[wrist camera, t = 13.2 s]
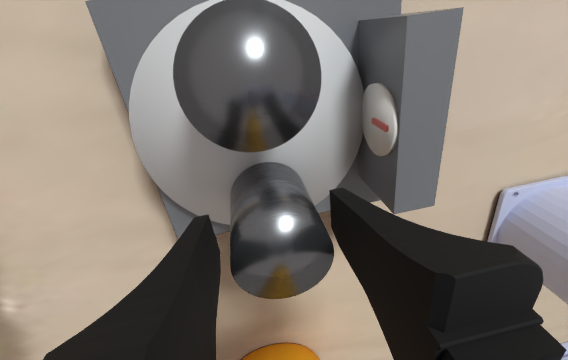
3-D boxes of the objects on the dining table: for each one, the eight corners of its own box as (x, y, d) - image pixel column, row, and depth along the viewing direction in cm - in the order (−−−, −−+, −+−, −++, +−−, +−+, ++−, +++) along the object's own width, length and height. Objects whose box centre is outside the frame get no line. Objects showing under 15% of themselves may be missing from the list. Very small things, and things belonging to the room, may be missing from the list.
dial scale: (377, -29, 14) (474, -70, 9) (372, 180, 20) (429, 238, 14) (109, 6, 13) (17, -14, 7) (184, 217, 19) (165, 297, 13)
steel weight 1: (274, -2, 11) (302, -26, 7) (299, 97, 13) (333, 128, 9) (178, 29, 11) (143, 26, 7) (216, 124, 13) (209, 169, 9)
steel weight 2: (294, 151, 14) (323, 203, 10) (311, 213, 16) (341, 280, 12) (218, 176, 14) (213, 239, 10) (244, 235, 16) (250, 310, 12)
